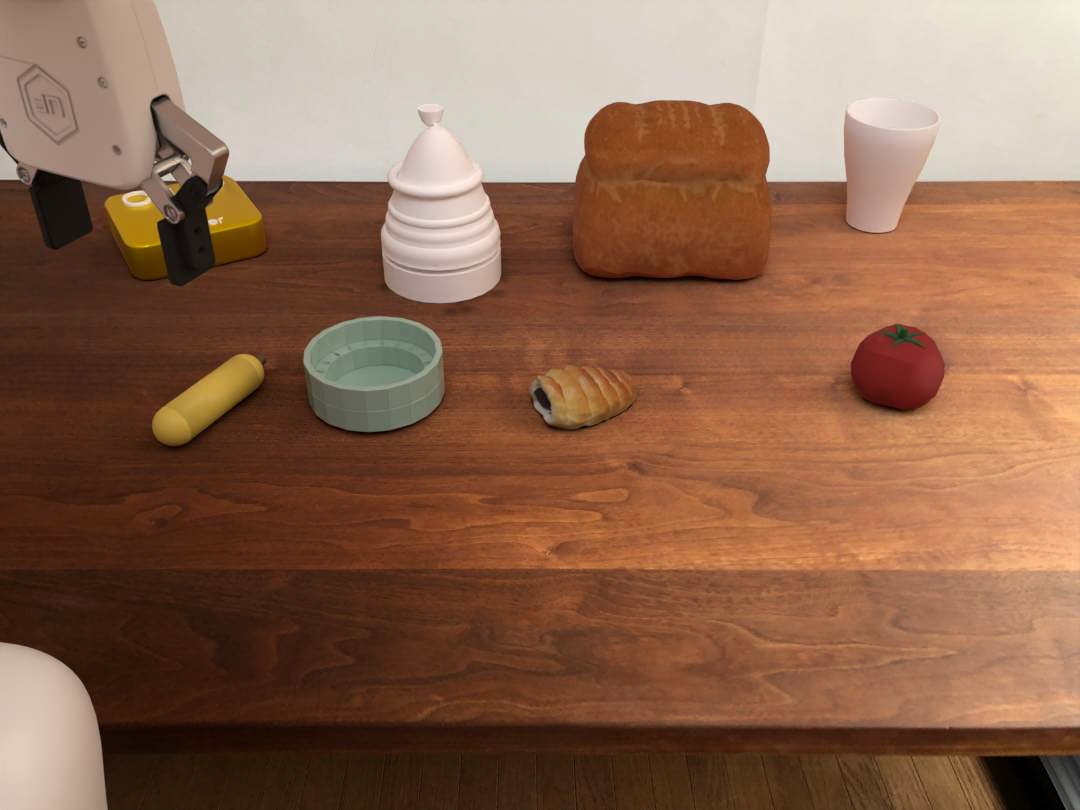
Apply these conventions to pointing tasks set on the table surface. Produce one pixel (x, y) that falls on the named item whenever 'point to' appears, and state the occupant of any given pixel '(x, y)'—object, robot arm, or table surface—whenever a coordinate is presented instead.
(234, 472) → the table surface
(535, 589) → the table surface
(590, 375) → the pastry
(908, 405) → the tomato
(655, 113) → the bread
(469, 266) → the honey pot
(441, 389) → the bowl
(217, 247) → the element tile
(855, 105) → the cup
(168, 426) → the yellow gas cartridge
